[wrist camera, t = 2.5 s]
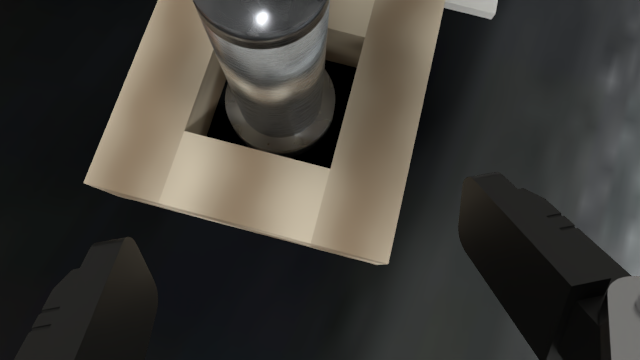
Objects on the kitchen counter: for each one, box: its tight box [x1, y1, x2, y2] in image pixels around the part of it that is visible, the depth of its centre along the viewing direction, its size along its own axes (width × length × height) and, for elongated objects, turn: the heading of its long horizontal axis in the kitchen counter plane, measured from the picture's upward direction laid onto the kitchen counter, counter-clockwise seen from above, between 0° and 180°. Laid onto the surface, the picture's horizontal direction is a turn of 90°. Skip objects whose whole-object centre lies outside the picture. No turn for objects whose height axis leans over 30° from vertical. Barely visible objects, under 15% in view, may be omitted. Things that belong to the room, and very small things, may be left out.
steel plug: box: [193, 0, 335, 158], centre depth 19 cm, size 7×7×12 cm
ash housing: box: [84, 0, 445, 265], centre depth 23 cm, size 16×16×4 cm
